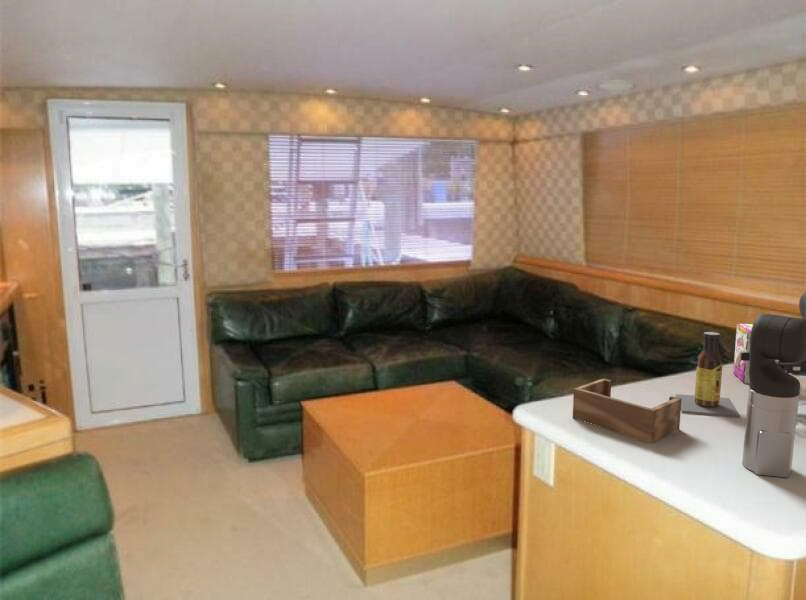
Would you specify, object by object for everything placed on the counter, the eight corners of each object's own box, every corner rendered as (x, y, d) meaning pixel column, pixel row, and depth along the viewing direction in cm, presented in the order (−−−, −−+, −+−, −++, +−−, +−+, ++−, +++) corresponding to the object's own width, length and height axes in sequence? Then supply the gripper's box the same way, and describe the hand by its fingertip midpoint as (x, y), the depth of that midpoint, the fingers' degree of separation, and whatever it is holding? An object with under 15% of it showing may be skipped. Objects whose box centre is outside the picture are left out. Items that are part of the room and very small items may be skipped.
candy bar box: (731, 373, 205) (736, 323, 202) (748, 374, 204) (753, 323, 201) (742, 383, 195) (747, 331, 192) (760, 384, 194) (765, 331, 191)
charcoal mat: (739, 417, 167) (740, 415, 167) (681, 412, 171) (681, 410, 171) (728, 400, 180) (729, 398, 180) (675, 396, 184) (675, 394, 184)
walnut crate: (601, 406, 176) (603, 378, 175) (679, 429, 160) (681, 398, 158) (572, 417, 168) (573, 388, 166) (651, 443, 151) (653, 411, 150)
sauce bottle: (719, 409, 171) (725, 337, 168) (693, 406, 174) (699, 335, 170) (718, 401, 177) (724, 331, 174) (694, 398, 180) (699, 329, 176)
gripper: (799, 341, 177) (737, 340, 179) (827, 355, 163) (760, 354, 165) (796, 367, 178) (735, 366, 180) (824, 383, 164) (757, 382, 166)
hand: (747, 360), depth 172 cm, fingers open, 8 cm apart
